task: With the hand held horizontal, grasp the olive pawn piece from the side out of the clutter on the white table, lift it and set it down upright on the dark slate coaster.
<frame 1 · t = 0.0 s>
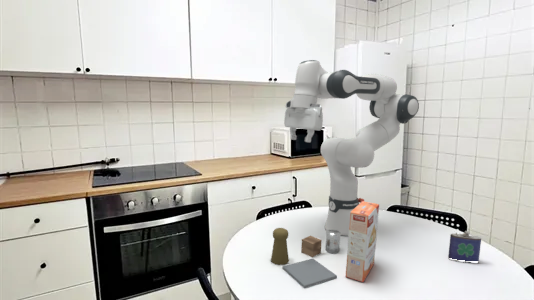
hand: (300, 140, 115), 39 cm above the table, tool pointing down, fingers open, 8 cm apart
grey tin: (332, 250, 111), on the table
walnut block: (311, 252, 109), on the table
coaster: (308, 273, 95), on the table
flask: (463, 261, 105), on the table
olive pawn piece: (279, 261, 102), on the table
cracker box: (360, 271, 97), on the table
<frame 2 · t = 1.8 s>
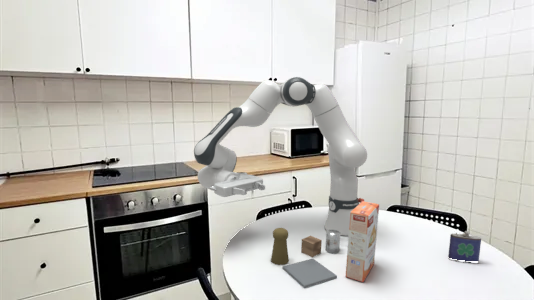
hand: (254, 190, 108), 22 cm above the table, tool horizontal, fingers open, 8 cm apart
nothing on the table moved.
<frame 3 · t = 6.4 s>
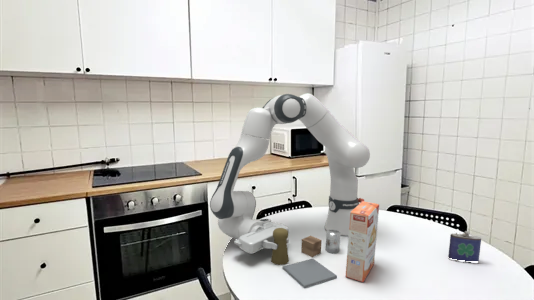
hand: (282, 244, 101), 6 cm above the table, tool horizontal, fingers closed on olive pawn piece, 4 cm apart
olive pawn piece: (279, 261, 102), on the table, touching gripper
everything else where it was.
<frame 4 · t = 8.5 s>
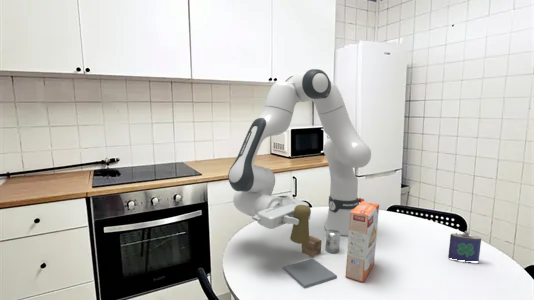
hand: (304, 219, 94), 17 cm above the table, tool horizontal, fingers closed on olive pawn piece, 4 cm apart
olive pawn piece: (299, 239, 96), point 10 cm above the table, touching gripper
everything else where it was.
when the fingers open (8 cm above the table, at t = 10.5 s): olive pawn piece moves 2 cm, resting on coaster.
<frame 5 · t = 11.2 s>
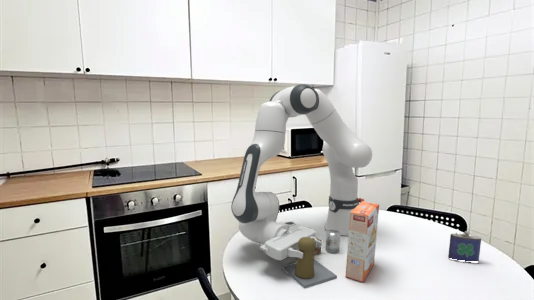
hand: (312, 250, 93), 8 cm above the table, tool horizontal, fingers open, 8 cm apart
olive pawn piece: (304, 274, 93), point 1 cm above the table, touching coaster, gripper
everything else where it was.
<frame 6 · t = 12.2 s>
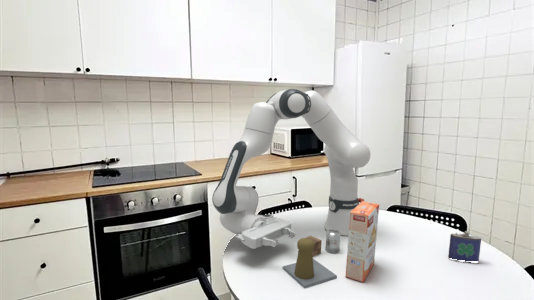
hand: (285, 239, 100), 8 cm above the table, tool horizontal, fingers open, 8 cm apart
olive pawn piece: (304, 274, 93), point 1 cm above the table, touching coaster
everything else where it was.
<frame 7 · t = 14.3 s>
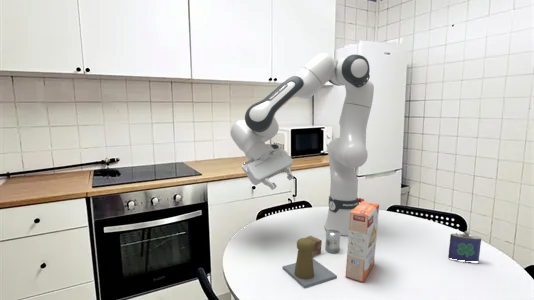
hand: (283, 183, 110), 24 cm above the table, tool tilted 50°, fingers open, 8 cm apart
nothing on the table moved.
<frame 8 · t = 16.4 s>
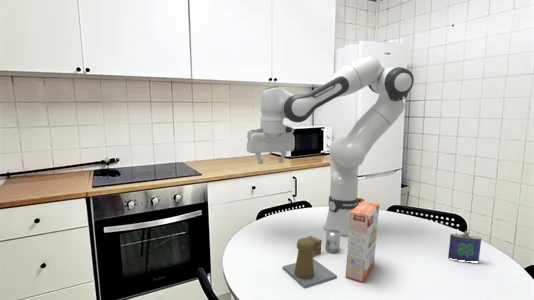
hand: (270, 163, 122), 29 cm above the table, tool pointing down, fingers open, 8 cm apart
nothing on the table moved.
at the end: olive pawn piece inside the target area on the coaster (2.6 cm from its centre), point 0.6 cm above the coaster's base; olive pawn piece tilted 0°; the gripper is holding nothing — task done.
